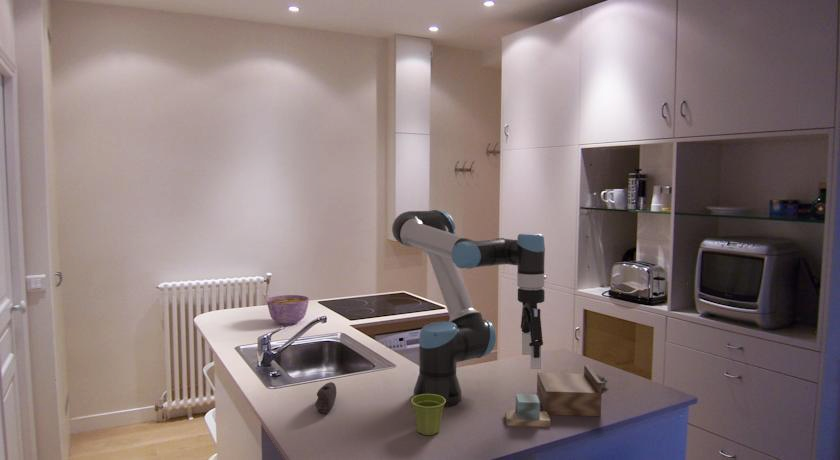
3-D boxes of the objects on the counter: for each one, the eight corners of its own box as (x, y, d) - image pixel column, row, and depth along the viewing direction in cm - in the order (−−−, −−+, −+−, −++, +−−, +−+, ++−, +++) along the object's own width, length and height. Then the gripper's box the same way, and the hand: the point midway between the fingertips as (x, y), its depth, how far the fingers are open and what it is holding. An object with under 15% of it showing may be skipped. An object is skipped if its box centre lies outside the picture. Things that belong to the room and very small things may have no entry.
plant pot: (409, 423, 153) (410, 393, 153) (443, 422, 154) (443, 393, 154) (412, 439, 144) (412, 407, 143) (447, 438, 145) (447, 406, 144)
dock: (545, 414, 160) (546, 381, 159) (536, 393, 176) (537, 363, 175) (600, 416, 159) (602, 382, 159) (587, 395, 175) (588, 364, 174)
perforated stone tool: (325, 396, 172) (325, 375, 172) (341, 397, 172) (341, 376, 172) (312, 417, 158) (312, 393, 157) (330, 417, 157) (330, 394, 157)
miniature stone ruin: (590, 395, 176) (590, 383, 176) (571, 388, 182) (571, 376, 182) (610, 388, 182) (610, 376, 182) (591, 381, 188) (592, 369, 188)
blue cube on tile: (507, 426, 153) (507, 401, 152) (504, 416, 159) (505, 393, 158) (550, 427, 152) (551, 403, 152) (546, 418, 158) (547, 394, 158)
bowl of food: (259, 327, 254) (258, 302, 253) (277, 316, 274) (277, 294, 273) (300, 329, 251) (299, 304, 250) (315, 318, 271) (315, 295, 270)
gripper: (554, 295, 143) (554, 375, 144) (535, 281, 167) (535, 349, 169) (525, 295, 143) (525, 375, 144) (511, 281, 168) (511, 349, 169)
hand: (531, 361), depth 156 cm, fingers open, 13 cm apart
